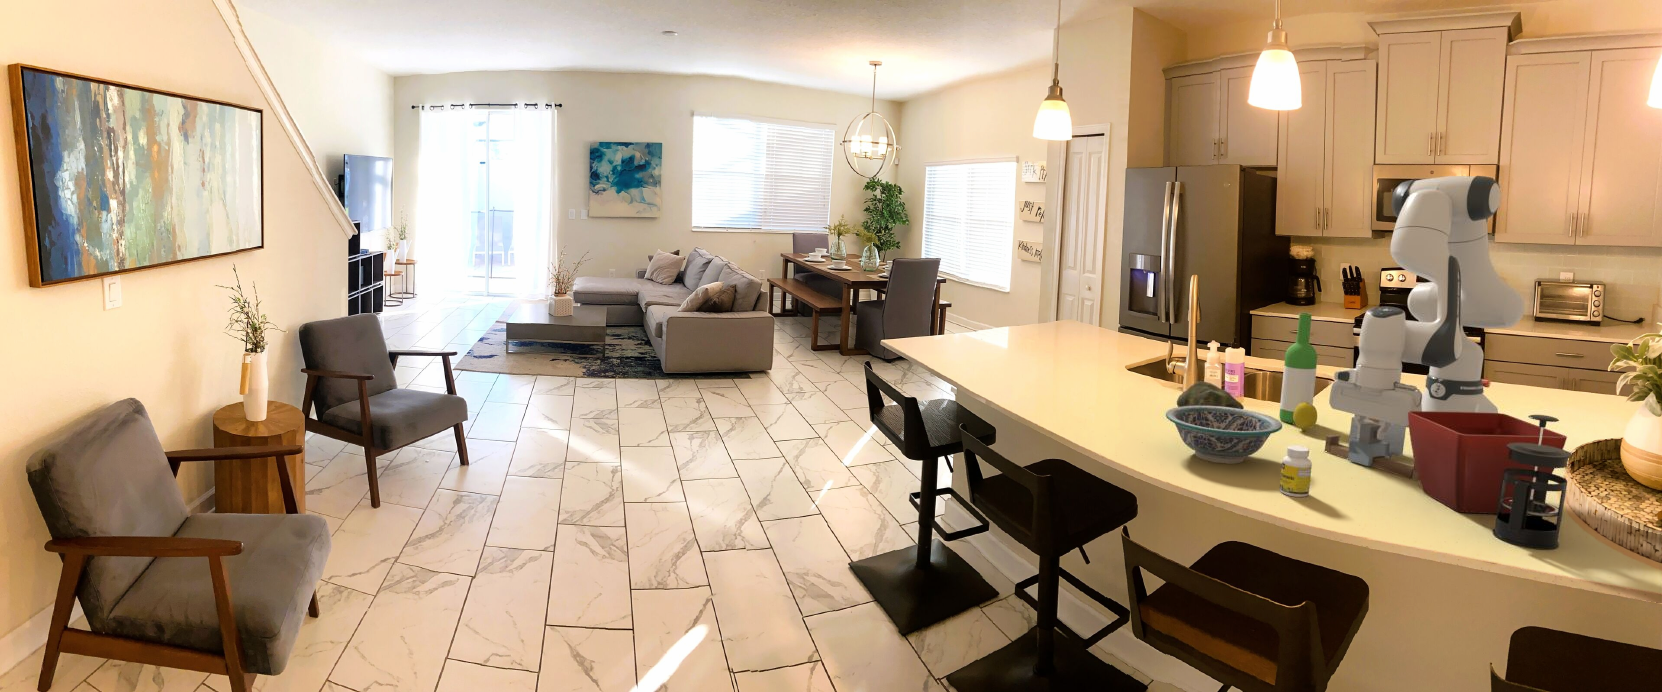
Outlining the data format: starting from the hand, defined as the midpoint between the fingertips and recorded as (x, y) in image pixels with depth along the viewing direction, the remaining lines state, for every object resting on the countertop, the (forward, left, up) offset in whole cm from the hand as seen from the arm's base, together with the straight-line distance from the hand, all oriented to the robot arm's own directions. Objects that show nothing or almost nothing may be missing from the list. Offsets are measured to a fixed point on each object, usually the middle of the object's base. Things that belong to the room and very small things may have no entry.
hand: (1370, 436), depth 198 cm
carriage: (0, 0, -6) cm, 6 cm away
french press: (+16, +42, -6) cm, 46 cm away
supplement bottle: (+34, +9, -6) cm, 36 cm away
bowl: (+29, -16, -6) cm, 34 cm away
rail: (0, +1, -6) cm, 6 cm away
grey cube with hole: (-10, -6, -6) cm, 13 cm away
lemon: (-10, -26, -6) cm, 28 cm away
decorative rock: (+2, -47, -7) cm, 47 cm away
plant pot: (+5, +26, -7) cm, 28 cm away
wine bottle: (-16, -34, -6) cm, 38 cm away
